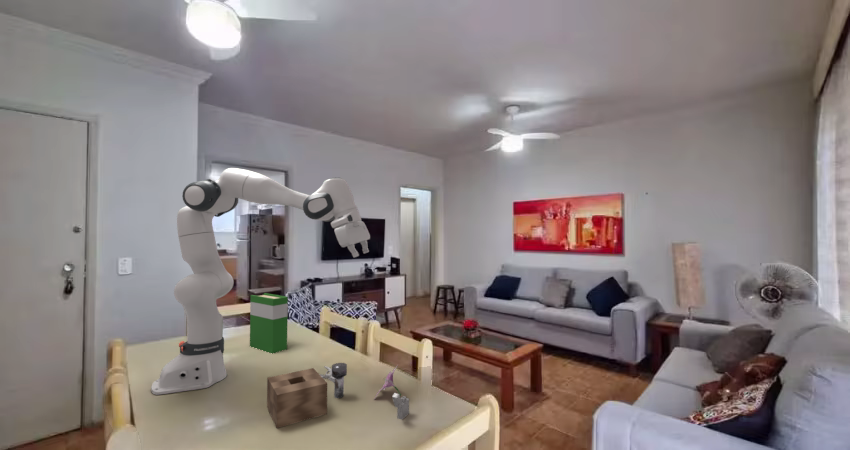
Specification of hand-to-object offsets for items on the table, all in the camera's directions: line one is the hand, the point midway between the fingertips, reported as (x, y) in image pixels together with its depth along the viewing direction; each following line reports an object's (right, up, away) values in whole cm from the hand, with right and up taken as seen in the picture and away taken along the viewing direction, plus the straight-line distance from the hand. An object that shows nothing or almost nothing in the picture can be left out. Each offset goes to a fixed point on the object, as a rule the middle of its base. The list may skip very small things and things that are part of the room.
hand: (361, 254), depth 130 cm
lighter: (+16, -45, -27) cm, 55 cm away
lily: (+11, -46, -13) cm, 49 cm away
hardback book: (-50, -46, +34) cm, 76 cm away
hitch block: (-15, -45, -23) cm, 53 cm away
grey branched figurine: (-14, -46, +3) cm, 48 cm away
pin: (-5, -45, -14) cm, 48 cm away
